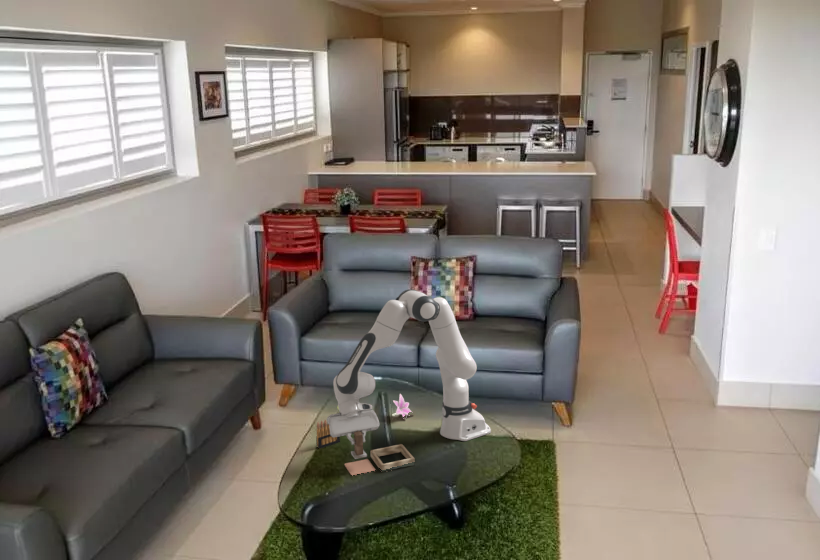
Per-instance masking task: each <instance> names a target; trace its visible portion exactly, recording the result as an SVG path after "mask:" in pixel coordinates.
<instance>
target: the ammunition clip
mask: <svg viewBox="0 0 820 560" xmlns="http://www.w3.org/2000/svg"><path fill="white" fill-rule="evenodd" d="M340 437H341V436H339V437H334V438H333V437H332V436H331V435H330V428H329V424H328V423H327V419H324V420H321V421H320V422H319V421H317V422H316V437H315V438H316V446H318V448H320V449H324V448H326V447H330V446H333V445H335V444H339V443H341V438H340ZM316 446H315V447H316ZM318 448H317V449H318Z"/></svg>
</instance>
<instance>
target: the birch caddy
mask: <svg viewBox="0 0 820 560" xmlns="http://www.w3.org/2000/svg"><path fill="white" fill-rule="evenodd" d="M399 453H401V454H402V456H404V459H401V460H400V459H399V460H395V461H391V462H386V463H383V461H382V460H381V458H380V457H382V456H389V455H393V454H399ZM370 458H371V460H372V461H373V462H374V463H375V465H376V466H377V468H378V469H379V468H380V469H381V470H386V469H390V468H392V467H397V466H402V465H404V464H408V463H412V462H416V461H415V457H414V456H413V455H412V454H411V453H410V451H409V450H408V449H407V448H406V447H405V445H403V444H402V443H399V444H395V445H390V446H385V447H380V448H375V449H370ZM380 469H379V470H380ZM381 470H380V471H381Z"/></svg>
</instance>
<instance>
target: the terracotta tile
mask: <svg viewBox="0 0 820 560" xmlns="http://www.w3.org/2000/svg"><path fill="white" fill-rule="evenodd" d="M344 467H345V468H346V469H347V471H348V473H349V474H350V475H352V476H351V477H354V476H353V475H355V476H358V475H357V474H360V475H362V474H361V473H364V474H368V473H367V472H369V473H372V472H371V471H374V472H376V471H375V470H376V468H375V467H374V466H373V464H372V463H371V461H370V460H369V459H368V458H365V459H360V460H356V461H355V460H354V461H352V462H351V461H350V462H346V463H344Z"/></svg>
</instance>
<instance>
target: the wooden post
mask: <svg viewBox="0 0 820 560" xmlns="http://www.w3.org/2000/svg"><path fill="white" fill-rule="evenodd" d="M353 439H355V441H356V444H354V448H353V449H354V450H351V451H350V455H351V456H352V457H353V458H354V459H355V460H357V459H362V458H367V457H368V454H367V453H366V451H365V450H364V443H363V434H362V433H361V432H360V431H358V432H354V434H353Z"/></svg>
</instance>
